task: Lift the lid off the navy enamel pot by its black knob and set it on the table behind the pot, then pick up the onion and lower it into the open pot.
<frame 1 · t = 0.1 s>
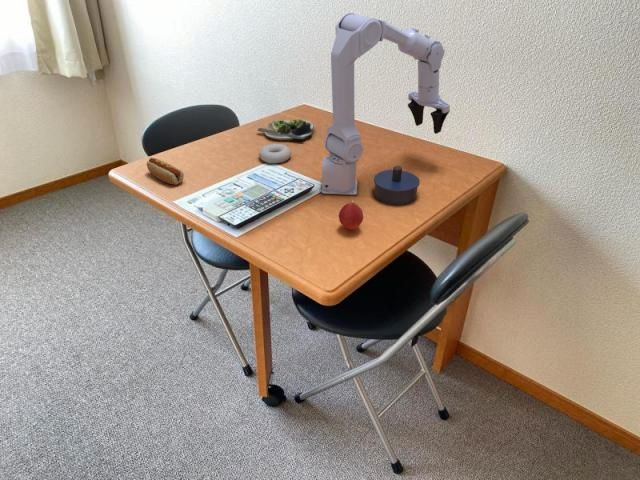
hand: (428, 128, 142), 11 cm above the table, tool pointing down, fingers open, 7 cm apart
salad plate: (291, 133, 167), on the table
food: (166, 179, 139), on the table
lid: (396, 181, 128), point 4 cm above the table, touching pot
donut: (275, 158, 150), on the table
onion: (350, 230, 116), on the table
pot: (395, 194, 130), on the table
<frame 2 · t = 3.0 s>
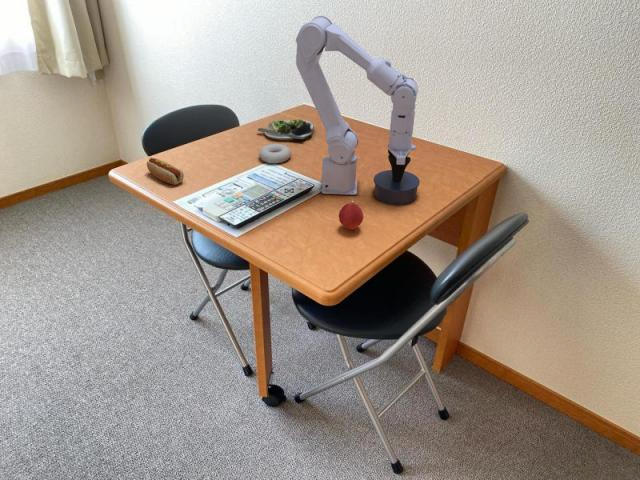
hand: (396, 178, 128), 5 cm above the table, tool pointing down, fingers closed on lid, 2 cm apart
lid: (396, 181, 128), point 4 cm above the table, touching gripper, pot
everything else where it was.
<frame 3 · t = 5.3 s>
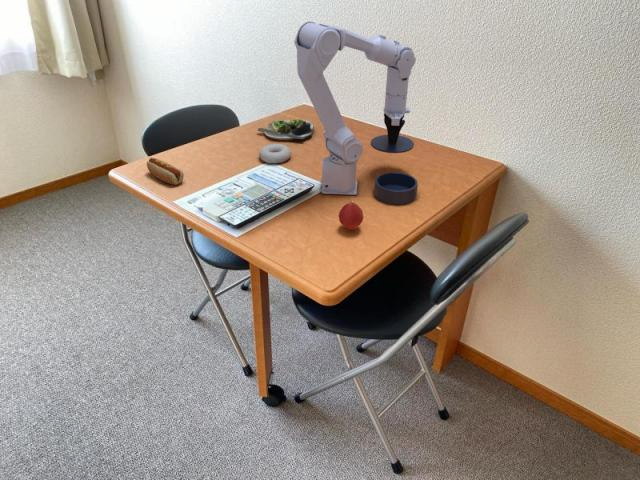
hand: (392, 141, 135), 10 cm above the table, tool pointing down, fingers closed on lid, 2 cm apart
lid: (392, 144, 135), point 9 cm above the table, touching gripper
everything else where it was.
when the fingers open (2 cm above the table, at t = 7.8 s): lid stays where it is, point 1 cm above the table.
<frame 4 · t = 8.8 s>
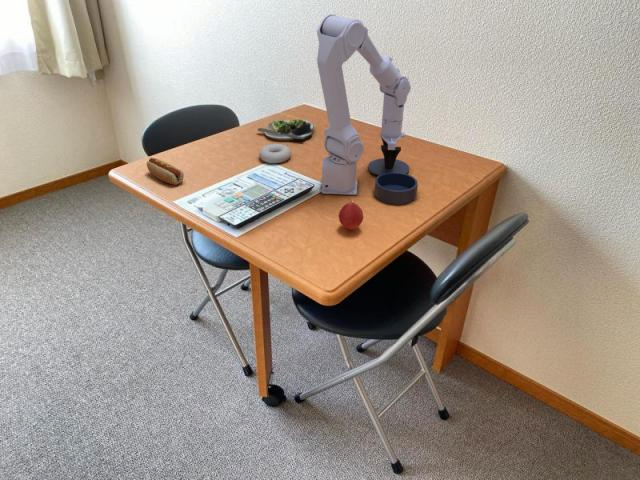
hand: (388, 163, 142), 2 cm above the table, tool pointing down, fingers open, 7 cm apart
lid: (388, 168, 143), point 1 cm above the table
everything else where it was.
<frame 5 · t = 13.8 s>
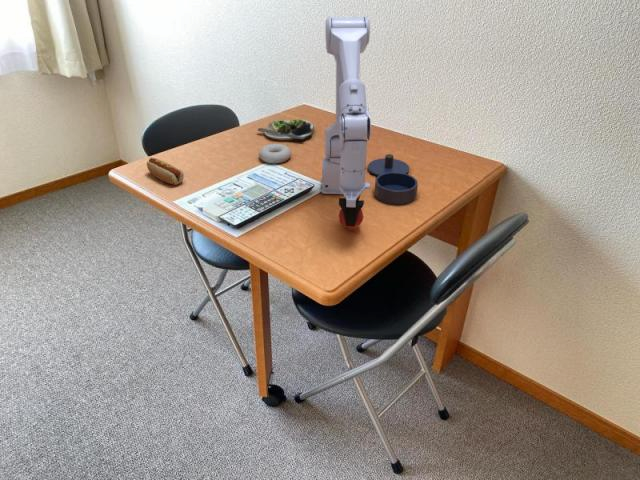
hand: (350, 218, 114), 3 cm above the table, tool pointing down, fingers closed on onion, 6 cm apart
onion: (350, 229, 116), on the table, touching gripper
everything else where it was.
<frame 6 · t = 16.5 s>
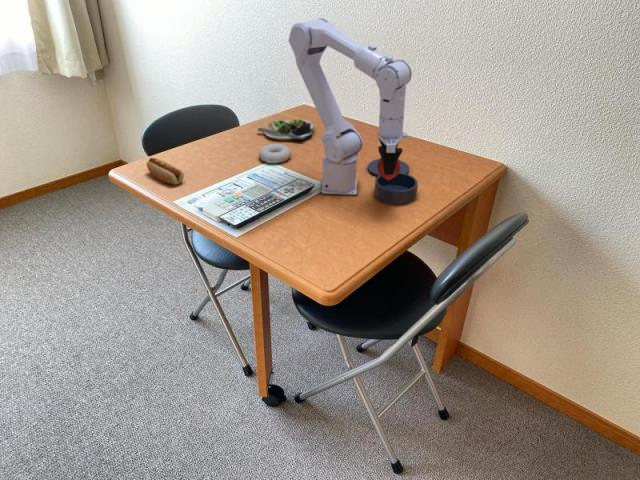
hand: (388, 168, 120), 10 cm above the table, tool pointing down, fingers closed on onion, 6 cm apart
onion: (388, 180, 122), point 7 cm above the table, touching gripper
everything else where it was.
when the fingers open (4 cm above the table, at t = 19.3 s): onion stays where it is, resting on pot.
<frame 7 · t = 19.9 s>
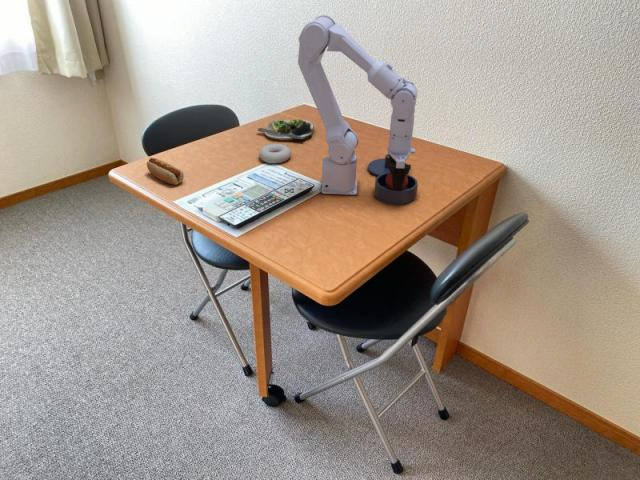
hand: (396, 181, 128), 4 cm above the table, tool pointing down, fingers open, 7 cm apart
onion: (395, 193, 130), resting on pot
everything else where it was.
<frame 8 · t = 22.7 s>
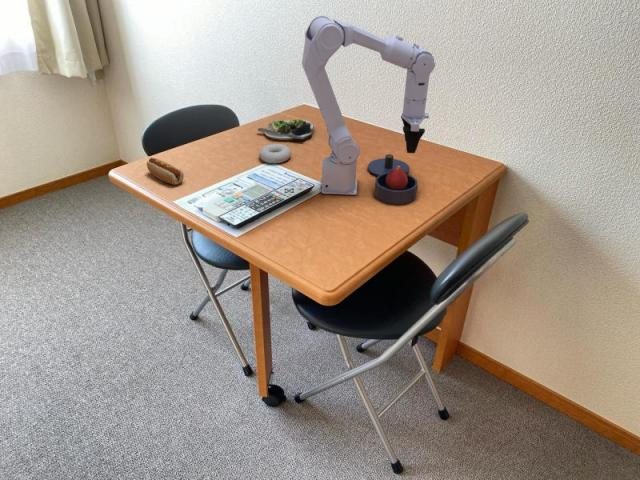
hand: (409, 146, 131), 10 cm above the table, tool pointing down, fingers open, 7 cm apart
nothing on the table moved.
at the end: lid inside the target area (0.1 cm from its centre), point 0.6 cm above the table; onion inside the target area in the pot (0.1 cm from its centre), point 0.3 cm above the pot's base; the gripper is holding nothing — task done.
